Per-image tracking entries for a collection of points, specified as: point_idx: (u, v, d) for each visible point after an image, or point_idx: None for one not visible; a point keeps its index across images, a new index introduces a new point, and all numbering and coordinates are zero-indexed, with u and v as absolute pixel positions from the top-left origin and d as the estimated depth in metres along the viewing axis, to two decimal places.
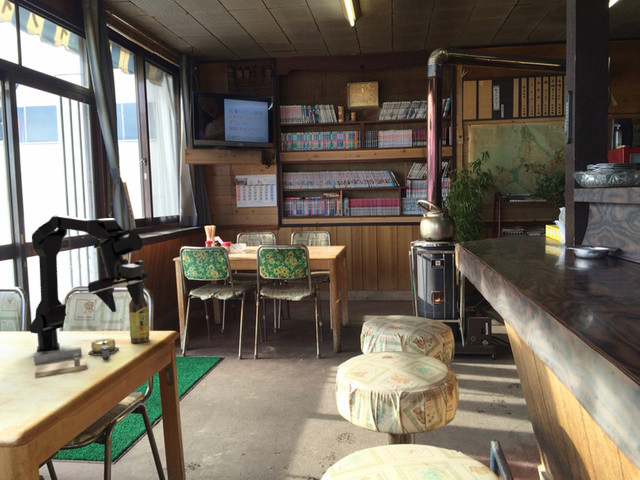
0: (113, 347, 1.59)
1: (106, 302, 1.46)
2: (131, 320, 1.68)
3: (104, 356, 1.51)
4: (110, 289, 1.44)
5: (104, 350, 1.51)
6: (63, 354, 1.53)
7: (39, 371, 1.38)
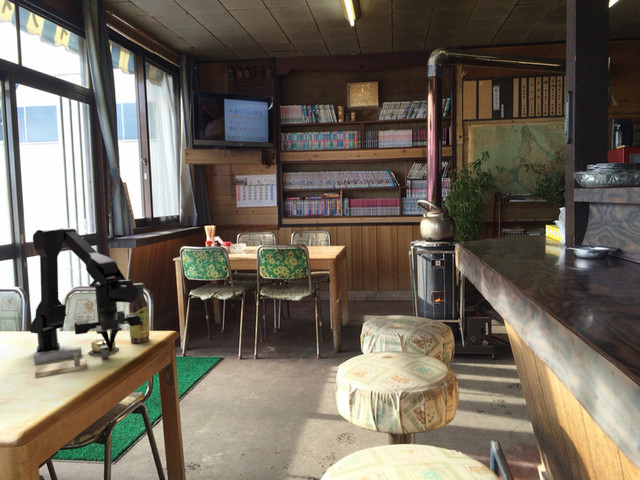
0: (113, 347, 1.59)
1: None
2: None
3: (103, 356, 1.51)
4: (102, 332, 1.50)
5: (103, 350, 1.51)
6: (63, 354, 1.53)
7: (39, 371, 1.38)
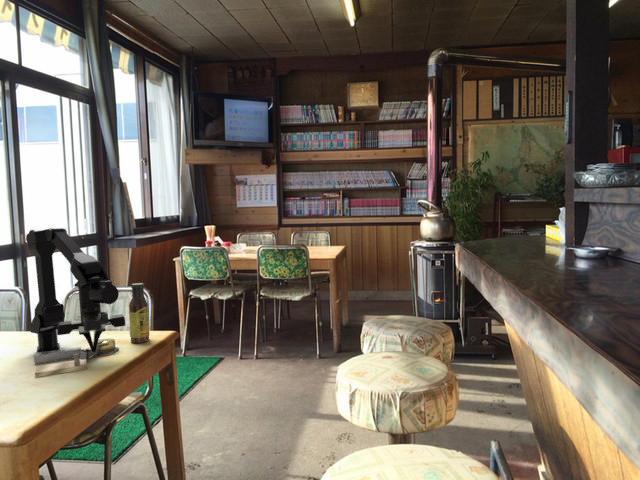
0: (107, 349, 1.57)
1: None
2: (131, 320, 1.68)
3: (81, 357, 1.50)
4: (84, 333, 1.48)
5: (81, 351, 1.50)
6: (63, 354, 1.53)
7: (39, 371, 1.38)
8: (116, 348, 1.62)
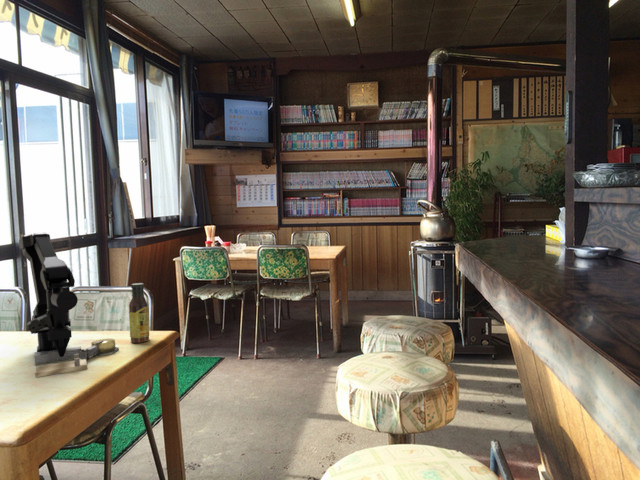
0: (107, 349, 1.57)
1: None
2: (131, 320, 1.68)
3: (81, 357, 1.50)
4: None
5: (81, 351, 1.50)
6: None
7: (39, 371, 1.38)
8: (116, 348, 1.62)
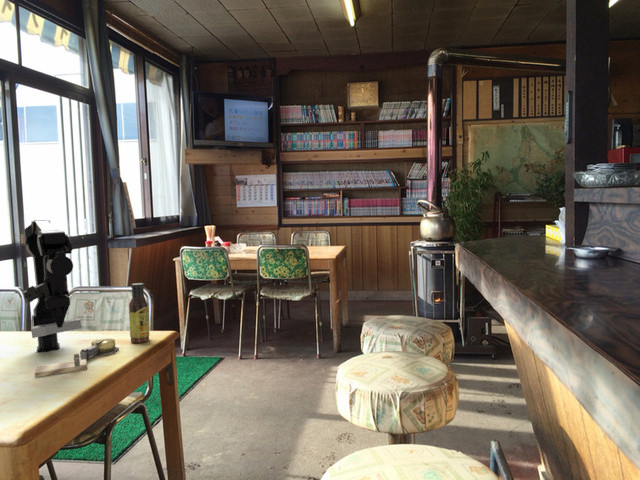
0: (107, 349, 1.57)
1: None
2: (131, 320, 1.68)
3: (81, 357, 1.50)
4: None
5: (81, 351, 1.50)
6: None
7: (39, 371, 1.38)
8: (116, 348, 1.62)
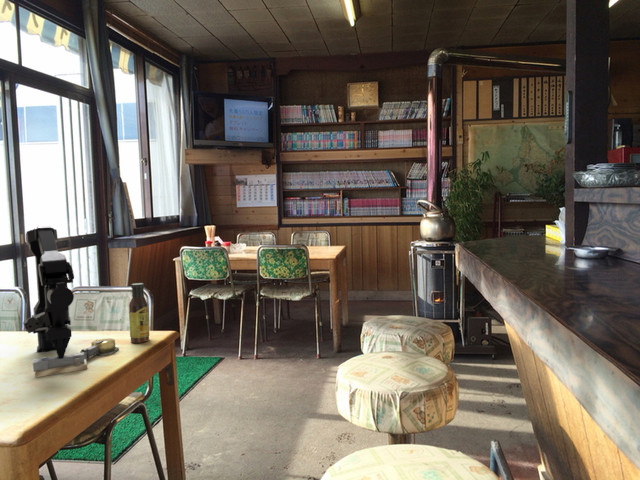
0: (107, 349, 1.57)
1: None
2: (131, 320, 1.68)
3: None
4: None
5: (81, 351, 1.50)
6: (64, 361, 1.42)
7: (39, 371, 1.38)
8: (116, 348, 1.62)
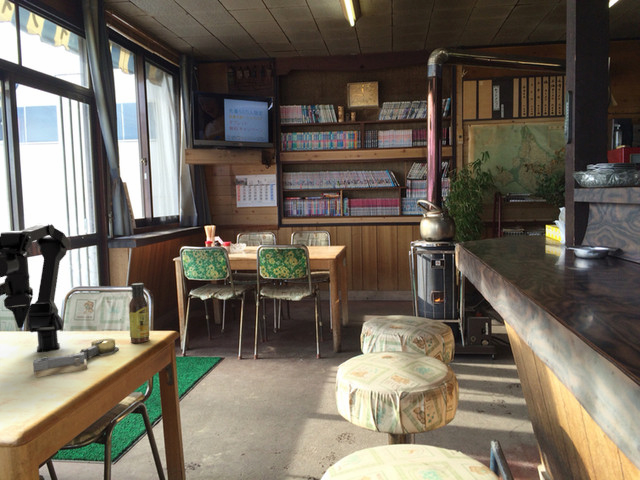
0: (107, 349, 1.57)
1: None
2: (131, 320, 1.68)
3: None
4: None
5: (81, 351, 1.50)
6: (64, 361, 1.42)
7: (39, 371, 1.38)
8: (116, 348, 1.62)
